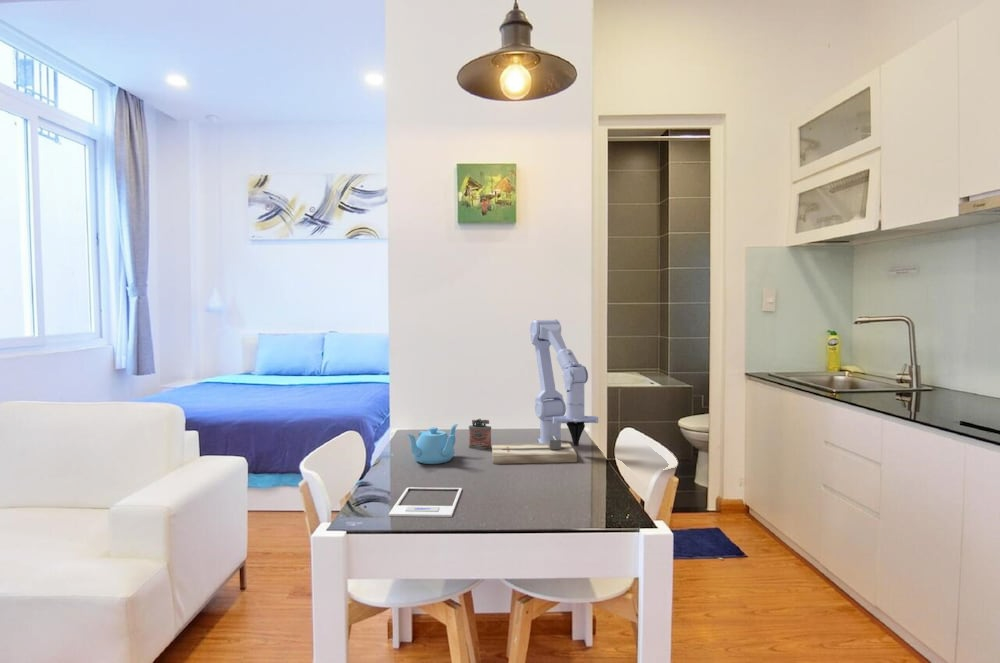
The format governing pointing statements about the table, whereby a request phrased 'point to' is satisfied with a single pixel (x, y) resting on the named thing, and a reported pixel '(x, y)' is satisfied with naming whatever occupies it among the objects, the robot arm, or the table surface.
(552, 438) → the fader
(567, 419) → the robot arm
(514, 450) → the console board
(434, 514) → the photo frame
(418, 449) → the teapot
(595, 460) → the table surface
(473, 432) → the lighter
